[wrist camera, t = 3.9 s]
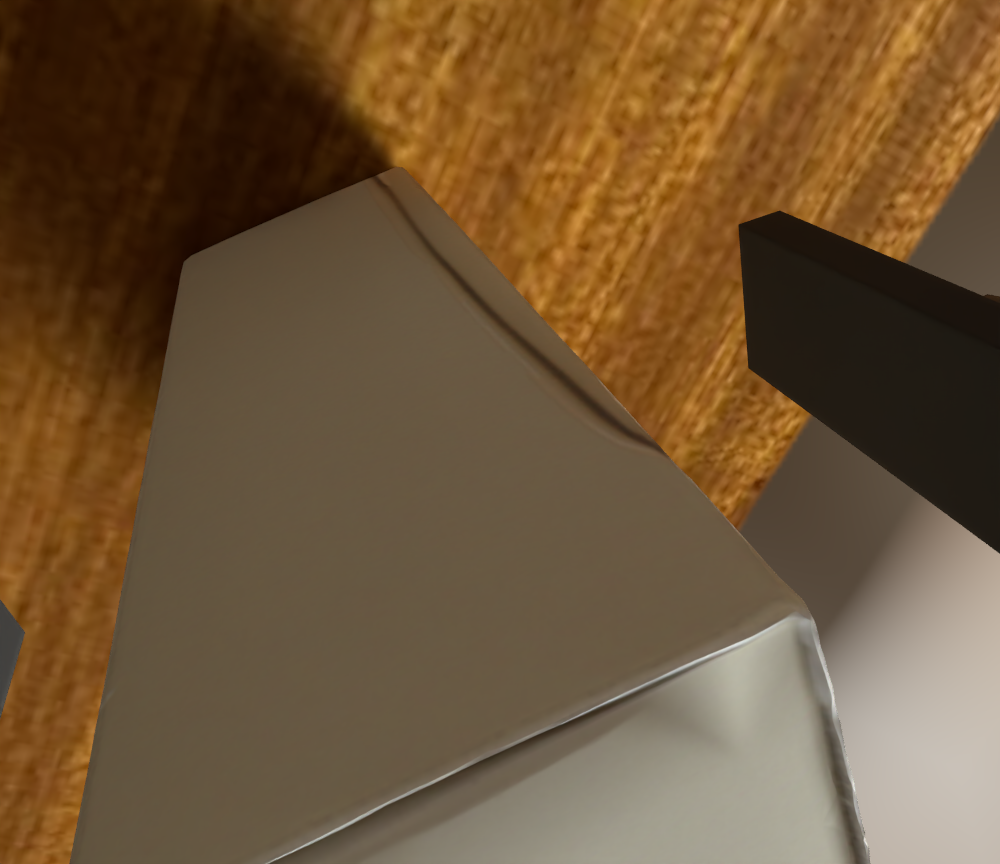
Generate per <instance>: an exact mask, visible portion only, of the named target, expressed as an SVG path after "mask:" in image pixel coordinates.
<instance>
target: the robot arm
mask: <svg viewBox="0 0 1000 864" xmlns="http://www.w3.org/2000/svg"><path fill="white" fill-rule="evenodd" d="M739 238H740V253H741V267H742V282H743V296H744V310H745V325H746V339H747V354H748V368H749V369H751V370H752V371H753V372H755V373H756V374H757V375H759V376H760V377H761V378H763V379H764V380H766V381H767V382H768V383H770V384H771V385H772V386H774V387H775V388H776V389H778V390H779V391H780V392H782V393H783V394H784V395H786V396H787V397H789V398H790V399H791V400H793V401H794V402H795V403H797V404H798V405H799V406H801V407H802V408H803V409H805V410H806V411H807V412H809V413H810V414H812V415H813V416H814V417H816V418H817V419H818V420H820V421H821V422H822V423H824V424H825V425H826V426H828V427H829V428H831V429H832V430H833V431H835V432H836V433H837V434H839V435H840V436H841V437H843V438H844V439H845V440H847V441H848V442H850V443H851V444H852V445H854V446H855V447H856V448H858V449H859V450H860V451H862V452H863V453H864V454H866V455H867V456H869V457H870V458H871V459H872V460H874V461H876V462H877V463H878V464H879V465H881V466H882V467H883V468H885V469H887V471H889V472H890V473H891V474H893V475H894V476H896V477H897V478H898V479H900V480H901V481H902V482H904V483H905V484H906V485H908V486H909V487H910V488H912V489H913V490H915V491H916V492H917V493H919V494H920V495H921V496H923V497H924V498H925V499H927V500H928V501H929V502H931V503H932V504H934V505H935V506H936V507H937V508H939V509H940V510H942V511H943V512H944V513H946V514H947V515H948V516H950V517H951V518H952V519H954V520H955V521H957V522H958V523H959V524H961V525H962V526H963V527H965V528H966V529H967V530H969V531H970V532H972V533H973V534H974V535H975V536H977V537H978V538H979V539H981V540H982V541H984V542H985V543H986V544H988V545H989V546H990V547H992V548H993V549H994V550H996V551H997V552H998V553H1000V297H999V296H994V295H988V294H987V295H985V296H981V295H979V294H977V293H975V292H972V291H970V290H967V289H965V288H963V287H960V286H958V285H956V284H953V283H951V282H948V281H946V280H944V279H941V278H939V277H936V276H934V275H932V274H929V273H927V272H924V271H922V270H919V269H917V268H915V267H913V266H910V265H908V264H905V263H903V262H901V261H898V260H896V259H894V258H891V257H889V256H886V255H884V254H882V253H879V252H877V251H874V250H872V249H870V248H867V247H865V246H863V245H860V244H858V243H855V242H853V241H851V240H848V239H846V238H843V237H841V236H839V235H836V234H834V233H832V232H829V231H827V230H824V229H822V228H820V227H817V226H815V225H813V224H810V223H808V222H805V221H803V220H801V219H798V218H796V217H793V216H791V215H789V214H786V213H784V212H782V211H777V212H774V213H771V214H768V215H765V216H762V217H759V218H756V219H754V220H751V221H748V222H745V223H742V224H739ZM24 634H25V632H24V630H23V629H22V628H21V627H20V625H19V624H18V623H17V621H16V620H15V619H14V617H13V616H12V615H11V613H10V612H9V611H8V609H7V608H6V607H5V605H4V604H3V603H2V601H1V600H0V717H1V714H2V710H3V707H4V703H5V700H6V696H7V693H8V689H9V686H10V683H11V679H12V676H13V672H14V669H15V665H16V662H17V658H18V655H19V651H20V648H21V644H22V641H23V637H24Z"/></svg>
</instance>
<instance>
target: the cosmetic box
mask: <svg viewBox="0 0 1000 864" xmlns="http://www.w3.org/2000/svg"><path fill="white" fill-rule="evenodd" d="M869 857H870V856H869V847H868V845H867V842H866V840H865V832H864V828H863V825H862V820H861V816H860V812H859V807H858V801H857V797H856V791H855V785H854V779H853V776H852V773H851V769H850V765H849V761H848V758H847V754H846V751H845V746H844V740H843V735H842V730H841V724H840V720H839V717H838V713H837V710H836V706H835V699H834V692H833V686H832V683H831V680H830V677H829V674H828V671H827V667H826V662H825V658H824V655H823V652H822V650H821V647H820V643H819V636H818V632H817V628H816V625H815V622H814V620H813V618H812V616H811V614H810V612H809V610H808V608H807V606H806V604H805V603H804V601H803V599H801V598H800V597H799V596H798V595H797V594H796V593H795V592H794V591H793V590H792V589H791V588H790V587H789V586H788V585H786V583H785V582H783V581H782V580H781V579H780V578H779V577H778V575H777V574H776V573H775V572H774V571H773V570H772V569H771V568H770V566H769V565H768V564H767V563H766V562H765V561H764V560H763V559H762V558H761V556H760V555H759V554H758V553H757V552H756V551H755V550H754V549H753V547H752V546H751V545H750V544H749V543H748V542H747V541H746V540H745V538H744V537H743V536H742V535H741V534H740V533H739V532H738V531H737V529H736V528H735V527H734V526H733V525H732V524H731V523H730V522H729V521H728V519H727V518H726V517H725V516H724V515H723V514H722V513H721V512H720V511H719V510H718V508H717V507H716V506H715V505H714V504H713V503H712V502H711V501H710V500H709V498H708V497H707V496H706V495H705V494H704V493H703V492H702V491H701V490H700V488H699V487H698V486H697V485H696V484H695V483H694V482H693V481H692V480H691V479H690V478H689V477H688V476H687V475H686V474H685V473H684V472H683V471H682V470H681V469H680V468H679V467H678V466H677V465H676V464H675V463H674V462H673V461H672V460H671V459H670V458H669V456H668V455H667V454H666V453H665V452H664V451H663V450H662V449H661V447H660V446H659V445H658V444H657V443H656V442H655V441H654V440H653V439H652V438H651V436H650V435H649V434H648V433H647V432H646V431H645V430H644V429H643V428H642V427H641V425H640V424H639V423H638V422H637V421H636V420H635V419H634V418H633V417H632V416H631V414H630V413H629V412H628V411H627V410H626V409H625V408H624V407H623V406H622V404H621V403H620V402H619V401H618V400H617V399H616V398H615V397H614V396H613V394H612V393H611V392H610V391H609V390H608V389H607V388H606V387H605V386H604V384H603V383H602V382H601V381H600V380H599V379H598V378H597V377H596V375H595V374H594V373H593V372H592V371H591V370H590V369H589V368H588V367H587V366H586V365H585V364H584V362H583V361H582V360H581V359H580V358H579V357H578V356H577V355H576V354H575V353H574V352H573V351H572V350H571V349H570V348H569V346H568V345H567V344H566V343H565V342H564V341H563V340H562V339H561V338H560V337H559V336H558V335H557V334H556V333H555V331H554V330H553V329H552V328H551V327H550V326H549V325H548V324H547V323H546V322H545V321H544V320H543V318H542V317H541V316H540V315H539V314H538V313H537V312H536V311H535V310H534V308H533V307H532V306H531V305H530V304H529V303H528V302H527V301H526V300H525V298H524V297H523V296H522V295H521V294H520V293H519V292H518V291H517V290H516V288H515V287H514V286H513V285H512V284H511V283H510V282H509V281H508V280H507V279H506V277H505V276H504V275H503V274H502V273H501V272H500V271H499V270H498V269H497V267H496V266H495V265H494V264H493V263H492V262H491V261H490V260H489V259H488V258H487V256H486V255H485V254H484V253H483V252H482V251H481V250H480V249H479V248H478V247H477V246H476V245H475V244H474V243H473V242H472V241H471V240H470V238H469V237H468V236H467V235H466V234H465V233H464V231H463V230H462V229H461V228H460V227H459V226H458V225H457V224H456V223H455V222H454V221H453V220H452V219H451V218H450V217H449V216H448V215H447V213H446V212H445V211H444V210H443V209H442V208H441V207H440V206H439V205H438V204H437V203H436V202H435V201H434V200H433V198H432V197H431V196H430V195H429V194H428V193H427V192H426V191H425V190H424V189H423V188H422V187H421V186H420V185H419V183H418V182H417V181H416V180H415V179H414V178H413V177H412V176H411V175H410V174H409V173H408V172H407V171H406V170H405V169H404V168H402V167H395V168H393V169H390V170H388V171H385V172H383V173H381V174H379V175H376V176H374V177H371V178H369V179H366V180H364V181H361V182H359V183H357V184H354V185H352V186H349V187H347V188H344V189H342V190H339V191H337V192H334V193H332V194H329V195H327V196H325V197H322V198H320V199H318V200H315V201H313V202H311V203H309V204H306V205H304V206H302V207H299V208H297V209H295V210H293V211H290V212H288V213H286V214H283V215H281V216H279V217H276V218H274V219H272V220H270V221H267V222H265V223H263V224H260V225H258V226H256V227H254V228H251V229H249V230H247V231H244V232H242V233H240V234H238V235H235V236H233V237H231V238H229V239H227V240H224V241H222V242H220V243H218V244H216V245H213V246H211V247H209V248H207V249H205V250H202V251H200V252H198V253H196V254H193V255H191V256H190V257H189V258H188V259H187V260H186V261H184V263H183V267H182V272H181V277H180V282H179V287H178V292H177V298H176V303H175V308H174V313H173V318H172V323H171V329H170V334H169V340H168V346H167V351H166V357H165V362H164V367H163V373H162V379H161V384H160V389H159V395H158V400H157V405H156V410H155V414H154V419H153V424H152V429H151V434H150V440H149V445H148V451H147V457H146V462H145V468H144V474H143V479H142V484H141V489H140V494H139V499H138V504H137V510H136V516H135V521H134V527H133V533H132V538H131V543H130V548H129V553H128V558H127V564H126V569H125V575H124V580H123V586H122V591H121V597H120V602H119V608H118V613H117V619H116V624H115V630H114V635H113V641H112V646H111V652H110V657H109V663H108V668H107V674H106V679H105V685H104V690H103V695H102V700H101V705H100V710H99V715H98V719H97V724H96V729H95V735H94V741H93V746H92V752H91V757H90V762H89V768H88V773H87V778H86V783H85V788H84V793H83V798H82V803H81V808H80V813H79V818H78V823H77V828H76V833H75V838H74V843H73V848H72V854H71V859H70V864H870V858H869Z"/></svg>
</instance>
